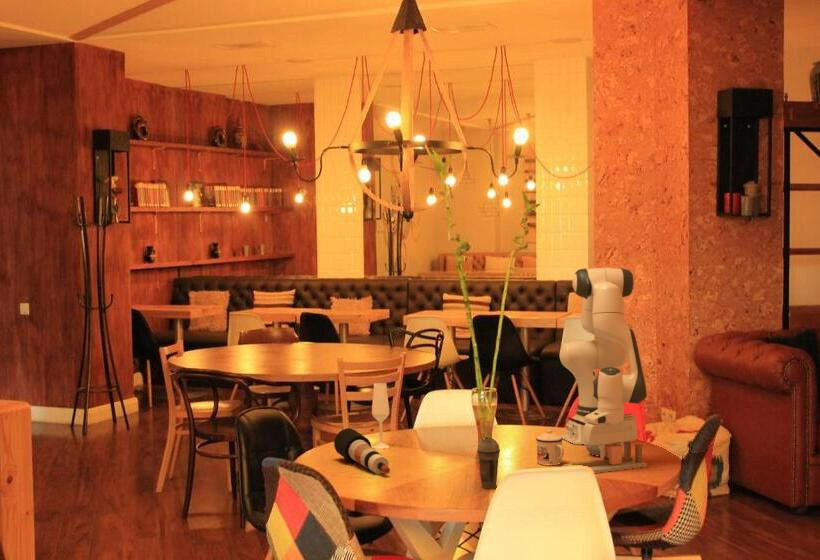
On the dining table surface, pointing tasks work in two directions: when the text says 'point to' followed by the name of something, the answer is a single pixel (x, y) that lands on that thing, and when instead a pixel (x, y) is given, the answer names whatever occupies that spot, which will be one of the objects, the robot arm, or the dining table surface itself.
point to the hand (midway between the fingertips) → (610, 455)
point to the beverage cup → (488, 461)
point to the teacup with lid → (549, 448)
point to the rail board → (626, 464)
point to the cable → (360, 451)
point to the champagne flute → (380, 409)
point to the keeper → (613, 453)
